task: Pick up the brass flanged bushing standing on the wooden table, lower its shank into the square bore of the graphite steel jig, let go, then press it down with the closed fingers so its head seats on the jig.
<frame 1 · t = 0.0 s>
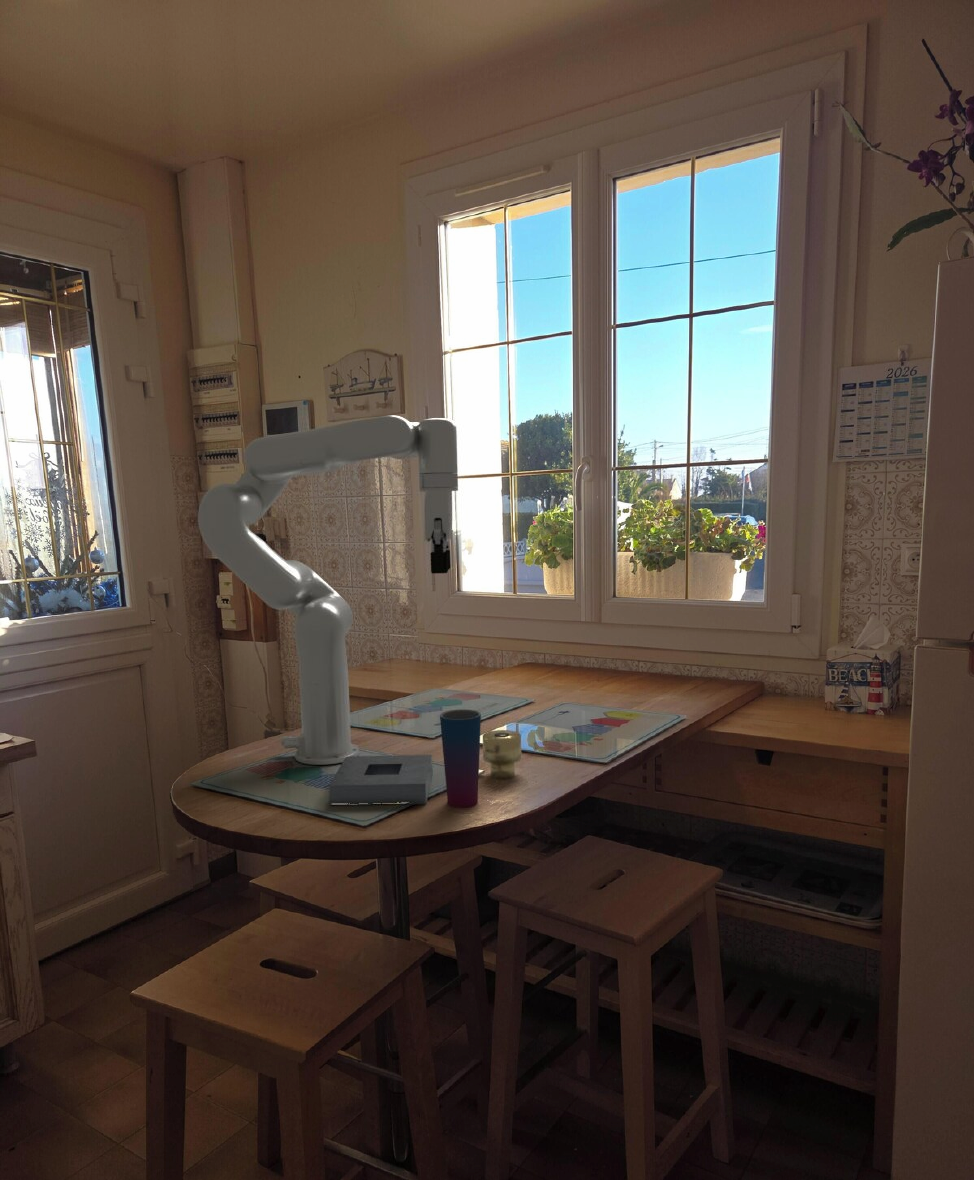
hand: (441, 571, 159), 37 cm above the table, tool pointing down, fingers open, 9 cm apart
cup: (462, 803, 135), on the table
jig: (384, 788, 143), on the table
bushing: (502, 775, 149), on the table
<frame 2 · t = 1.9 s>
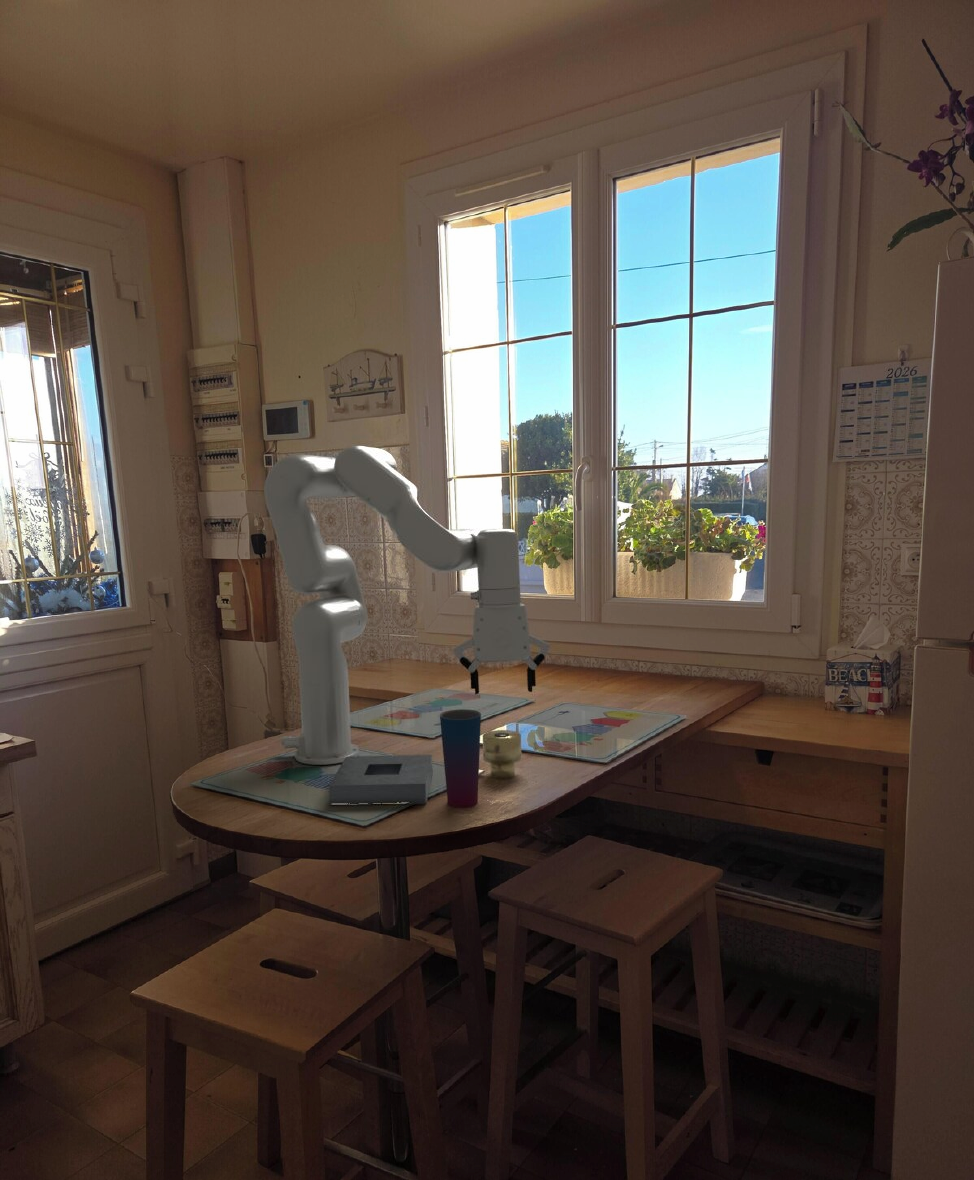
hand: (503, 691, 147), 16 cm above the table, tool pointing down, fingers open, 9 cm apart
nothing on the table moved.
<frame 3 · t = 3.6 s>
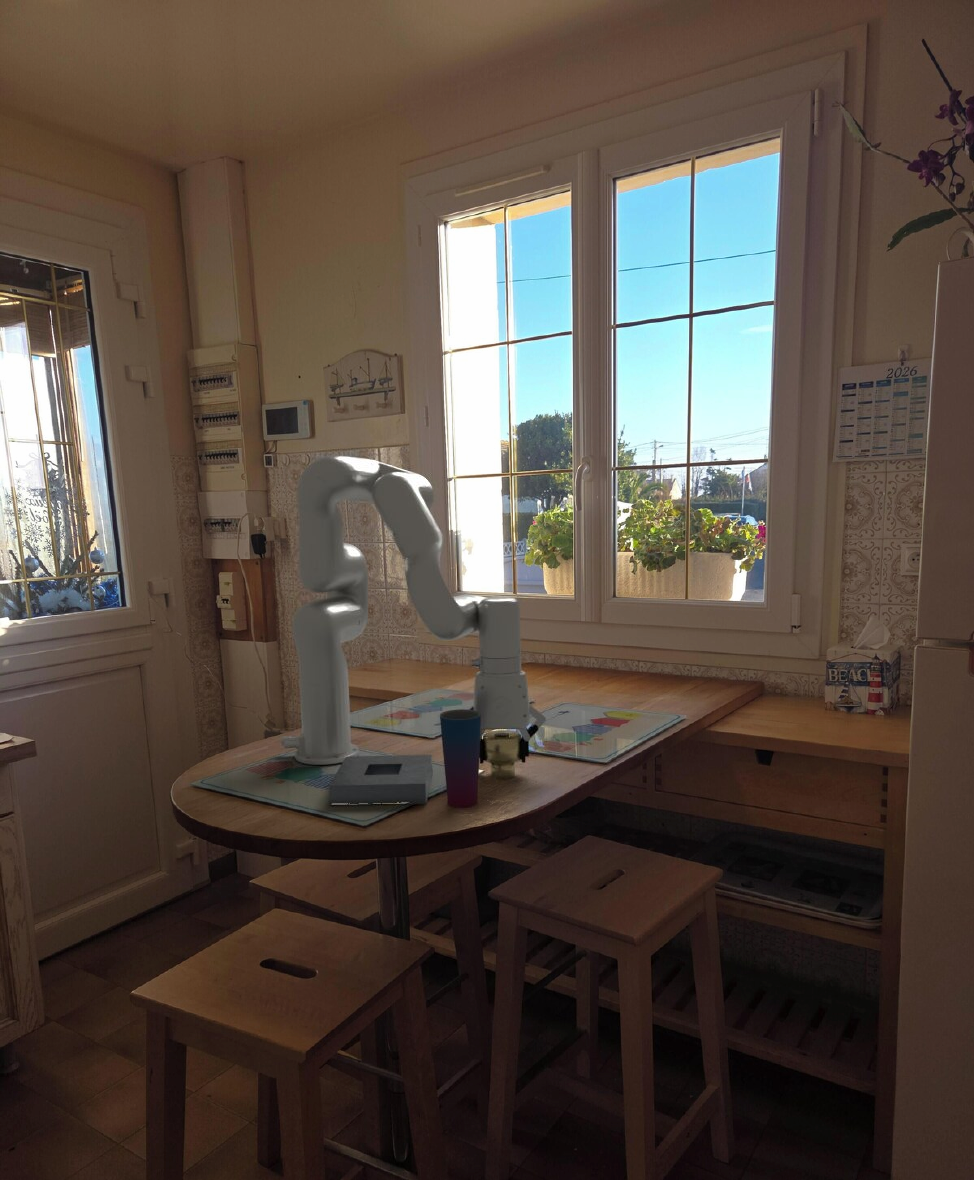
hand: (502, 760, 148), 3 cm above the table, tool pointing down, fingers closed on bushing, 7 cm apart
bushing: (502, 775, 149), on the table, touching gripper
everything else where it was.
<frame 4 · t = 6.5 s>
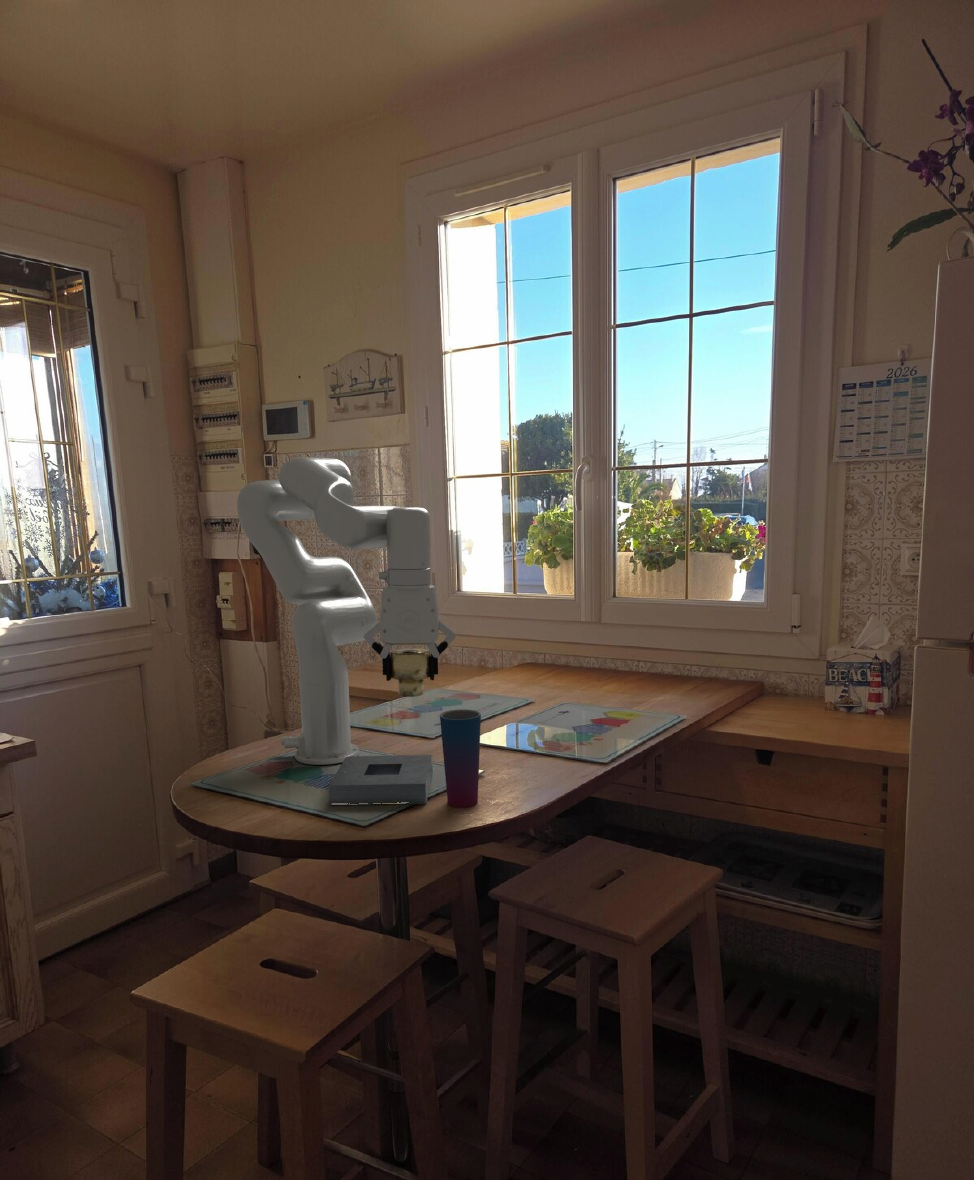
hand: (410, 678, 143), 19 cm above the table, tool pointing down, fingers closed on bushing, 7 cm apart
bushing: (411, 693, 143), point 16 cm above the table, touching gripper
everything else where it was.
when the fingers open (5 cm above the table, at t = 9.4 s): bushing drops 2 cm, resting on jig.
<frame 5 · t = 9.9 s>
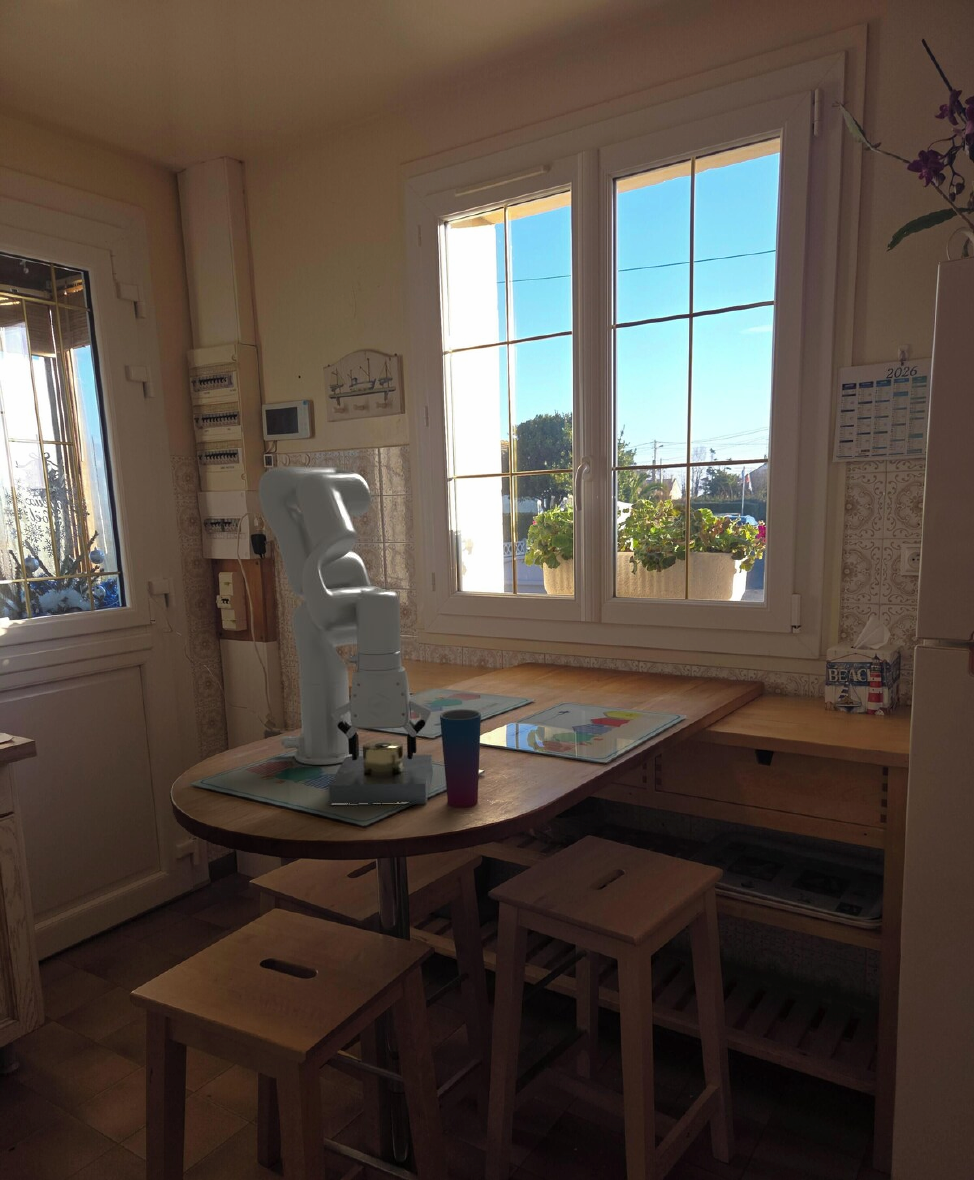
hand: (383, 757, 142), 6 cm above the table, tool pointing down, fingers open, 9 cm apart
bushing: (384, 787, 143), resting on jig
everything else where it was.
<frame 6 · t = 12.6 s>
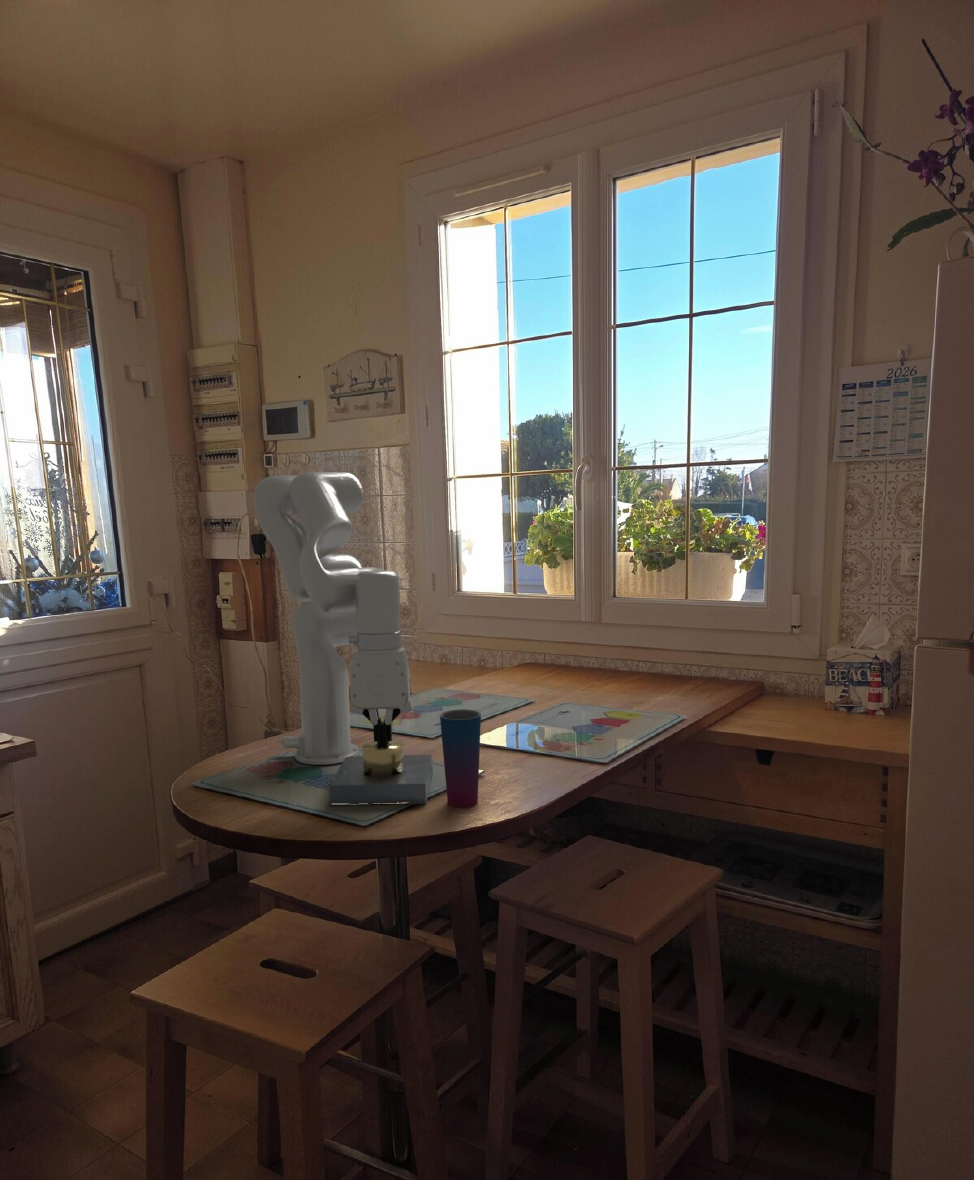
hand: (383, 745, 142), 8 cm above the table, tool pointing down, fingers closed
bushing: (384, 787, 143), resting on jig, touching gripper
everything else where it was.
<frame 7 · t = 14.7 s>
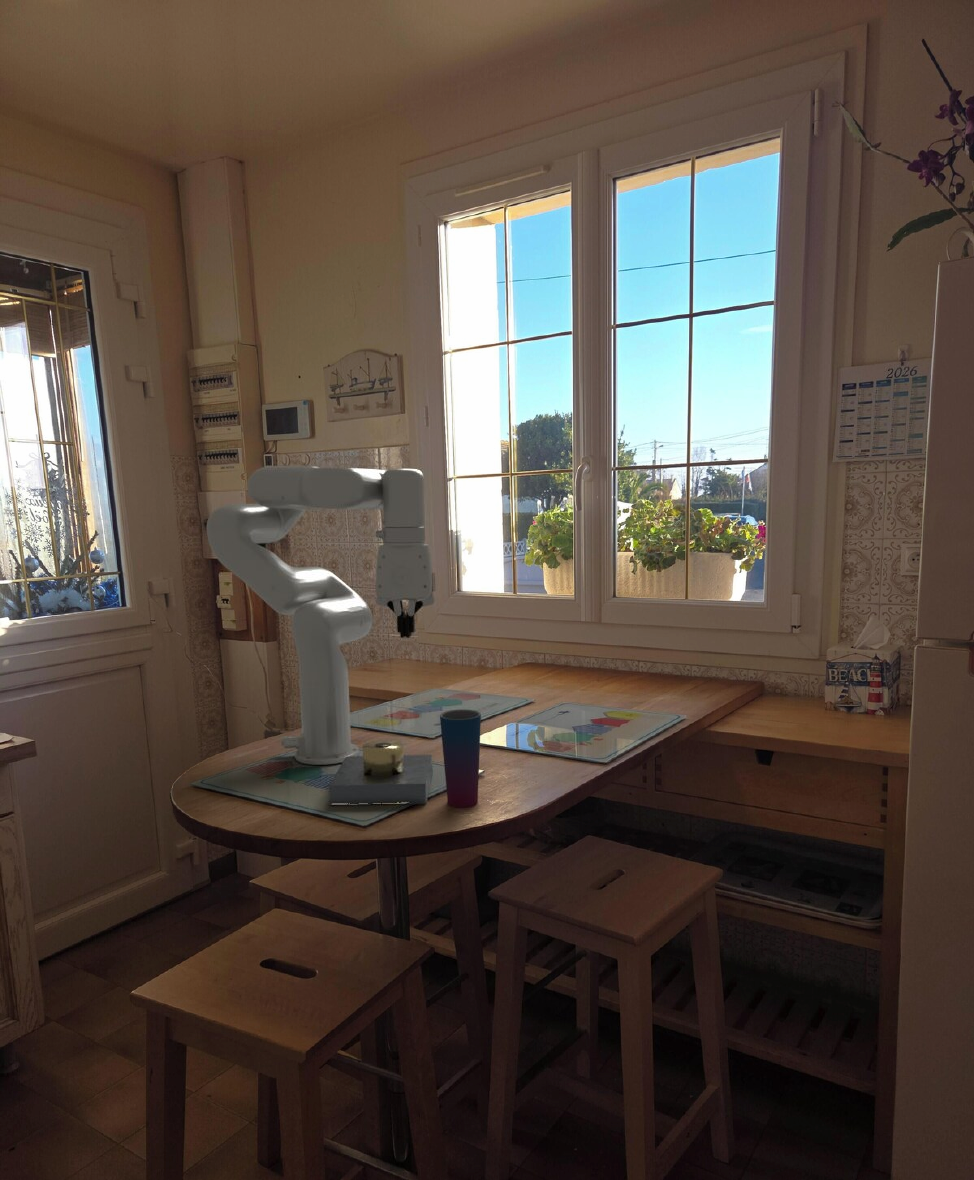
hand: (406, 636, 150), 26 cm above the table, tool pointing down, fingers closed
bushing: (384, 787, 143), resting on jig
everything else where it was.
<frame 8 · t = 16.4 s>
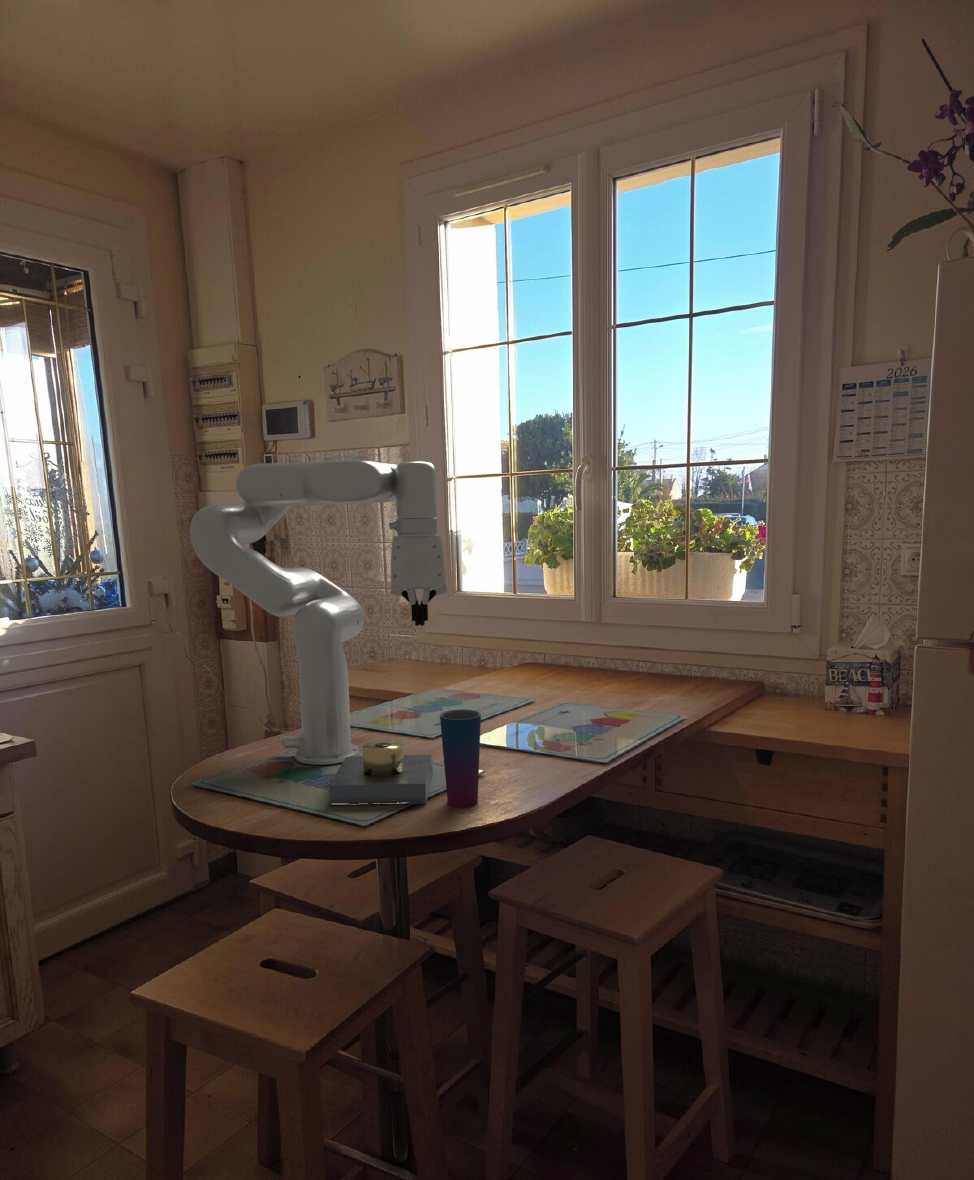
hand: (420, 624, 154), 27 cm above the table, tool pointing down, fingers closed
nothing on the table moved.
at the end: bushing 0.0 cm off-centre on the jig, point 0.3 cm above the jig's base; bushing tilted 0°; the gripper is holding nothing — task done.
